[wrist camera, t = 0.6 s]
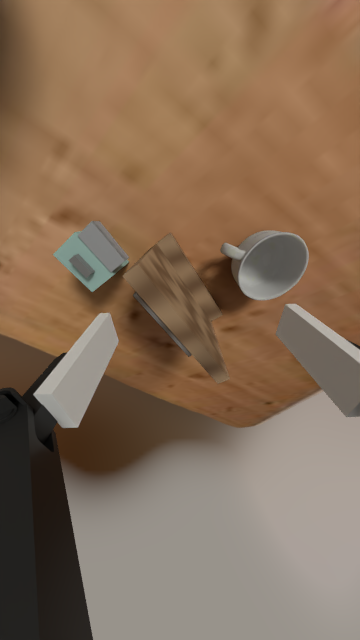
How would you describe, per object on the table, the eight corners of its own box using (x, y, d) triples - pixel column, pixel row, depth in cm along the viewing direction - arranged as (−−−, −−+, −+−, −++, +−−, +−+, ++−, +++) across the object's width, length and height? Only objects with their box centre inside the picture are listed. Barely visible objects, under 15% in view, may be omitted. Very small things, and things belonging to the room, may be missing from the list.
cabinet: (81, 248, 31) (43, 259, 22) (113, 218, 29) (84, 217, 20) (109, 278, 34) (85, 297, 25) (139, 253, 32) (125, 265, 23)
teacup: (293, 251, 32) (324, 259, 25) (252, 294, 36) (269, 312, 30) (240, 204, 28) (260, 199, 21) (202, 260, 32) (209, 271, 26)
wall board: (138, 258, 32) (101, 292, 17) (170, 232, 30) (162, 244, 14) (192, 326, 41) (200, 391, 25) (220, 310, 38) (249, 370, 23)
